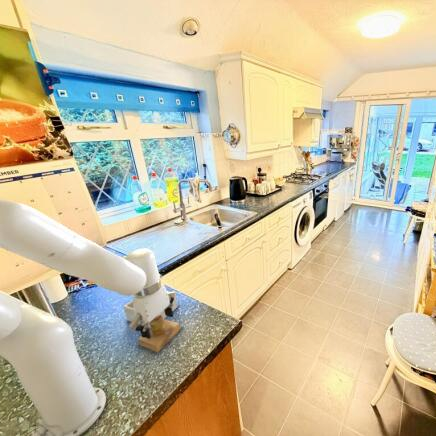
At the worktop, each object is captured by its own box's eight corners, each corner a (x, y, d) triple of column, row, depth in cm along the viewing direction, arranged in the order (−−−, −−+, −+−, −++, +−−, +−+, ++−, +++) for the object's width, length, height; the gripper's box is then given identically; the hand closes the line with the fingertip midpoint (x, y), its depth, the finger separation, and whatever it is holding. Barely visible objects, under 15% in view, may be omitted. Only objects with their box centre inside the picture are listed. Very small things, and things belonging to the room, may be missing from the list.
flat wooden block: (158, 352, 78) (156, 345, 77) (139, 345, 80) (137, 338, 79) (180, 329, 87) (179, 323, 85) (163, 323, 89) (161, 317, 88)
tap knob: (159, 336, 80) (155, 325, 78) (150, 333, 81) (146, 322, 79) (168, 328, 83) (165, 316, 82) (159, 325, 85) (156, 313, 83)
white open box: (152, 329, 87) (148, 315, 84) (127, 320, 90) (123, 306, 88) (178, 306, 98) (175, 293, 95) (154, 299, 101) (151, 286, 99)
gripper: (160, 269, 84) (169, 306, 91) (112, 301, 69) (127, 343, 75) (177, 273, 82) (185, 311, 88) (131, 307, 67) (145, 350, 73)
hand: (158, 326), depth 82 cm, fingers open, 9 cm apart
